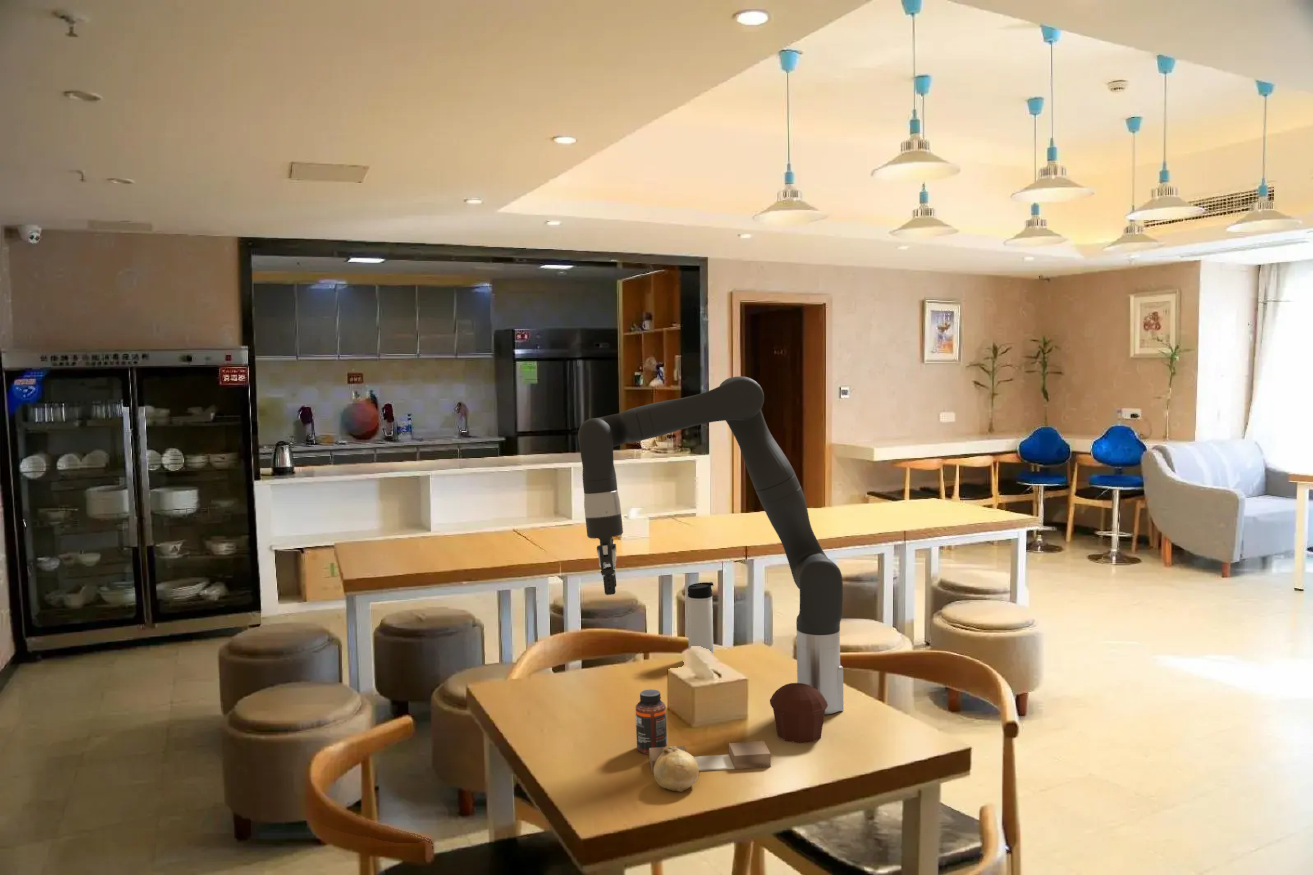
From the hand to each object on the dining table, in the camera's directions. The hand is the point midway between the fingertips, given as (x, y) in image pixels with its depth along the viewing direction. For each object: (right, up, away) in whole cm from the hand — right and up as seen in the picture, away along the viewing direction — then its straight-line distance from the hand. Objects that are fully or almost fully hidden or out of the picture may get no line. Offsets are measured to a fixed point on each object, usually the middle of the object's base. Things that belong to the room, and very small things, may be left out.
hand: (611, 591), depth 196 cm
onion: (+13, -30, -30) cm, 44 cm away
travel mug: (+21, -25, +43) cm, 54 cm away
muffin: (+38, -28, -7) cm, 48 cm away
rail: (+19, -29, -20) cm, 40 cm away
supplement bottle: (+9, -29, -13) cm, 33 cm away
